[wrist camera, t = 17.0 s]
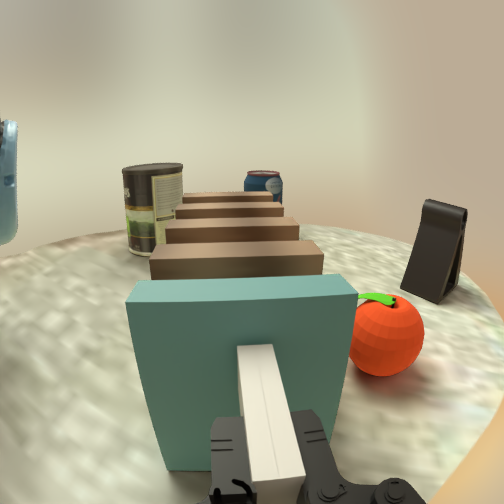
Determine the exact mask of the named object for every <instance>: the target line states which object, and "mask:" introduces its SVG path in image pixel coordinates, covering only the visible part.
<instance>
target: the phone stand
mask: <svg viewBox="0 0 504 504" xmlns="http://www.w3.org/2000/svg"><path fill="white" fill-rule="evenodd" d="M467 215H468V212H467V209H465V208H461V207H457V206H454V205H450V204H447V203H443V202H439V201H435V200H431V199H428V200H427V199H426V200H425V202H424V205H423V208H422V216H421V222H420V226H419V230H418V233H417V236H416V240H415V243H414V246H413V250H412V253H411V256H410V259H409V262H408V265H407V268H406V271H405V274H404V277H403V280H402V283H401V286H400V288H401V289H403V290H406V291H408V292H410V293H413V294H415V295H417V296H420V297H422V298H424V299H427V300H429V301H431V302H433V303H436V304H438V303H439V302H440V301H441V300H442V299H443V298H444V297H445V296H446V295H447V294H448V293H449V292H451V291H452V290H453V289H454V288H455V287H456V286H457V284H458V279H459V273H460V266H461V259H462V251H463V243H464V233H465V226H466V221H467Z"/></svg>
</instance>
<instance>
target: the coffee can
mask: <svg viewBox="0 0 504 504" xmlns="http://www.w3.org/2000/svg"><path fill="white" fill-rule="evenodd" d="M182 169H183V164H180V163H153V164H143V165H135V166H130V167H126V168H123V169H122V174H123V185H124V198H125V209H126V220H127V231H128V240H129V250H130V252H132V253H133V254H136V255H140V256H151V254H152V252H153V250H154V249H155V247H156V245H157V244H166V236H165V228H166V226H167V224H168V222H169V220H176V217H175V209H176V207H177V206H178V204H182V197H183V186H182Z"/></svg>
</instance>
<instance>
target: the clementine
mask: <svg viewBox="0 0 504 504" xmlns="http://www.w3.org/2000/svg"><path fill="white" fill-rule="evenodd" d="M360 298H365V299H368V300H366V301H365V302H364V303H362V304H361V305H360V306H359V307H357V309H356V315H355V322H354V328H353V335H352V341H351V346H350V352H349V357H350V358H351V359H352V361H353V362H354V363H355V365H356V366H357V367H358V368H360V369H361V370H362V371H364V372H366V373H368V374H371V375H375V376H391V375H394V374H397V373H399V372H401V371H403V370H405V369H406V368H408V367H409V366H410V365H411V364H412V363H413V362H414V361H415V359H416V358H417V356H418V355H419V353H420V351H421V349H422V345H423V339H424V326H423V321H422V318H421V316H420V314H419V312H418V311H417V309H416V308H415V307H414V306H413V305H412V304H411V303H410V302H408V301H407V300H405V299H404V298H402V297H399V296H396V295H390V294H386V295H385V294H382V293H365V294H361V295H358V299H360Z"/></svg>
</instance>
